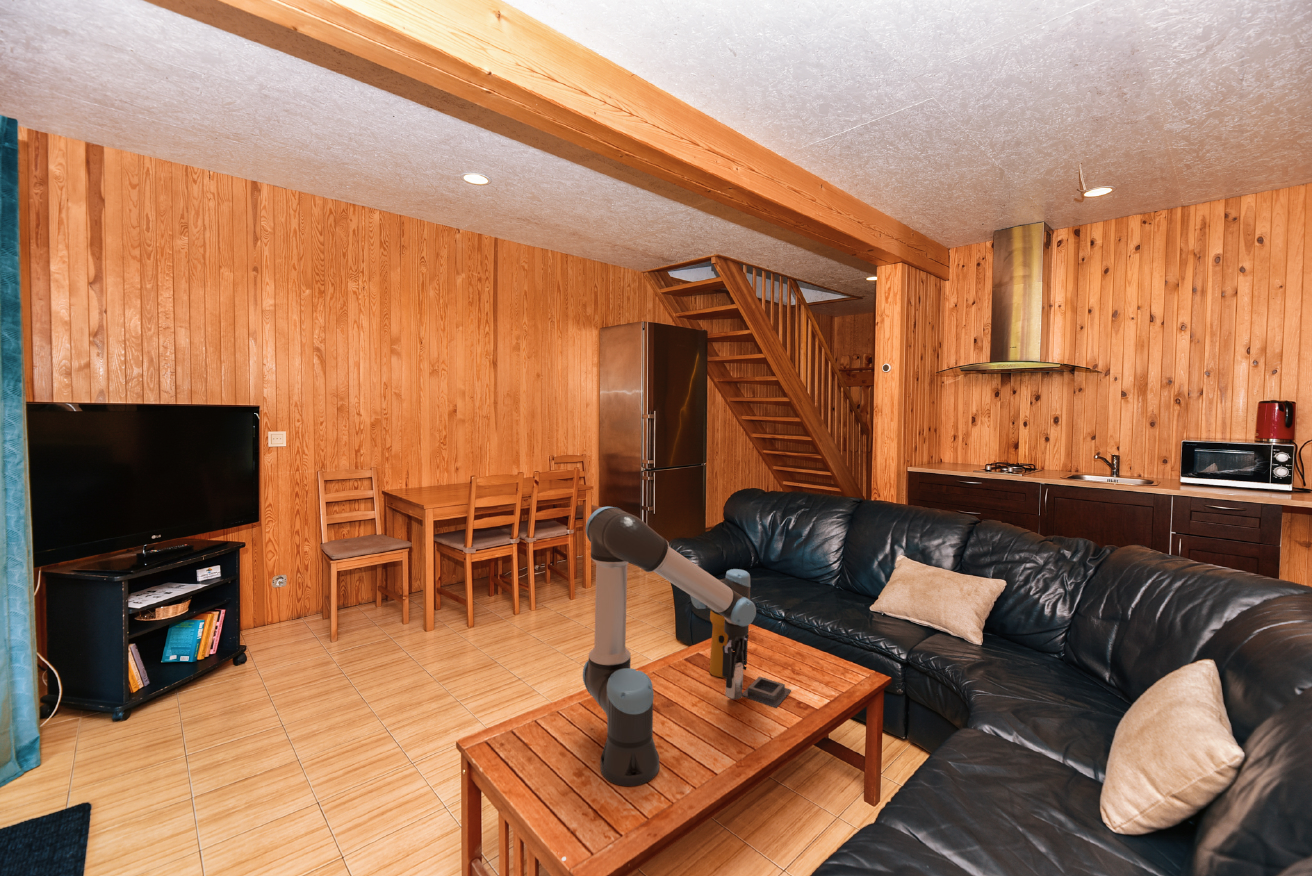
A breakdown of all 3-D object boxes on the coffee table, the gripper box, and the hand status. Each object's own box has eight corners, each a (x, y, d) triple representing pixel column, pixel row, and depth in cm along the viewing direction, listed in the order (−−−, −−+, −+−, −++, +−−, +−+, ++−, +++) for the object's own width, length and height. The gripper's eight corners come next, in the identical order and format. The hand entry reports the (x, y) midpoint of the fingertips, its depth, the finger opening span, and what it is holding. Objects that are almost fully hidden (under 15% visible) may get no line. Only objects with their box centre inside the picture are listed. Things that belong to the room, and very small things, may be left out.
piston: (737, 701, 172) (738, 667, 172) (723, 696, 175) (724, 663, 175) (744, 694, 177) (745, 661, 176) (730, 689, 179) (731, 657, 179)
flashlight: (742, 597, 196) (738, 607, 186) (736, 668, 198) (732, 682, 189) (714, 592, 199) (708, 602, 189) (709, 662, 201) (703, 676, 191)
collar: (776, 708, 173) (776, 699, 173) (741, 696, 180) (741, 688, 179) (791, 691, 183) (791, 683, 182) (756, 680, 189) (757, 673, 189)
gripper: (734, 632, 165) (731, 709, 166) (759, 614, 180) (757, 685, 181) (711, 626, 169) (709, 701, 171) (738, 609, 184) (736, 678, 185)
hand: (734, 692), depth 176 cm, fingers closed on piston, 5 cm apart
